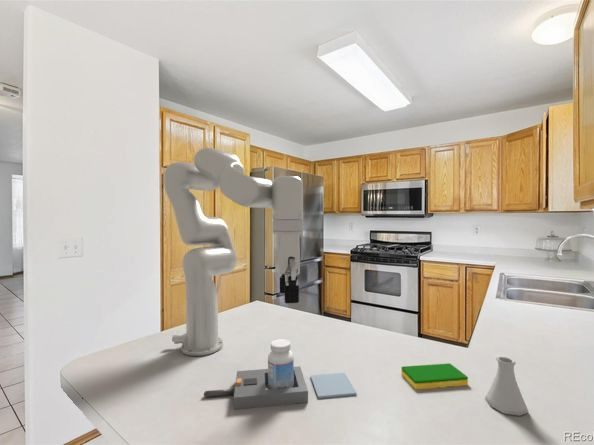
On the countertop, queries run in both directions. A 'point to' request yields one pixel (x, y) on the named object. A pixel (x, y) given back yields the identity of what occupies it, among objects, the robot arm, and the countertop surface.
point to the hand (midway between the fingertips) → (288, 297)
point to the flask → (506, 390)
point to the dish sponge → (433, 376)
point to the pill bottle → (280, 365)
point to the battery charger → (263, 390)
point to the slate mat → (332, 385)
